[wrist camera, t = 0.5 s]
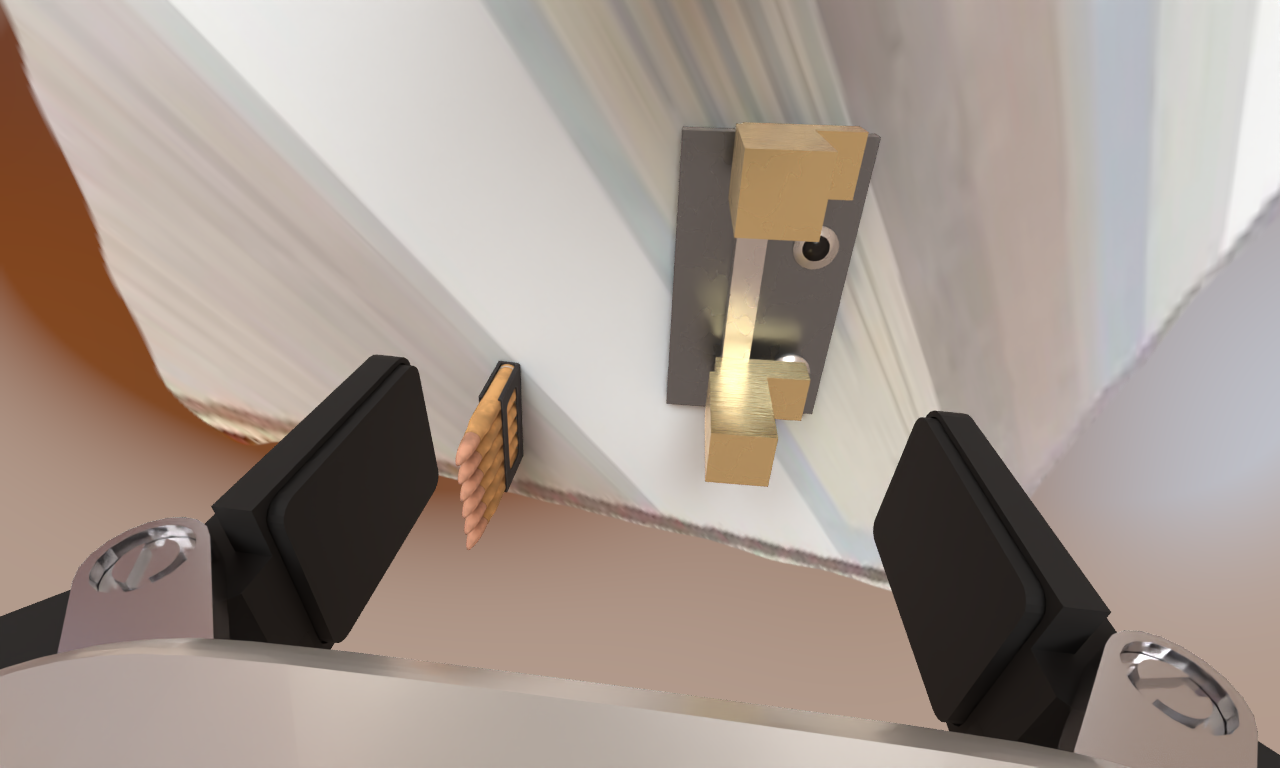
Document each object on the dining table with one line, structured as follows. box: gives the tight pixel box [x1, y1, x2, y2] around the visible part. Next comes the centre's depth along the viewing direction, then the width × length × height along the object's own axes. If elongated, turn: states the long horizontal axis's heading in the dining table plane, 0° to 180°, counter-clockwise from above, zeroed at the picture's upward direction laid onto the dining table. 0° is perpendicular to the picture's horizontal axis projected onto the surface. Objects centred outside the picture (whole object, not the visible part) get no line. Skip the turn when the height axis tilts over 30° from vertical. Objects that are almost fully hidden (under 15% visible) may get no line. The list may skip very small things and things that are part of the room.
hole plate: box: [667, 127, 881, 487], centre depth 35 cm, size 21×12×12 cm, turn 179°
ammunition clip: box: [456, 361, 523, 550], centre depth 44 cm, size 11×2×12 cm, turn 174°
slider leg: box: [728, 122, 869, 242], centre depth 29 cm, size 4×7×10 cm, turn 89°
